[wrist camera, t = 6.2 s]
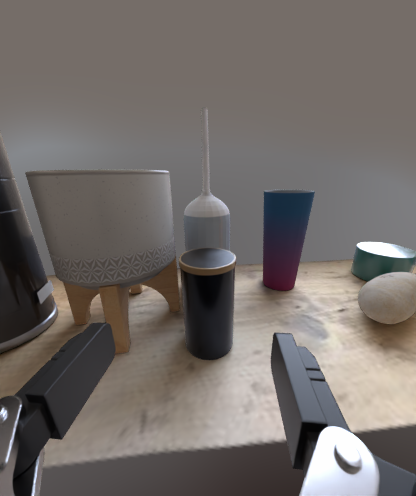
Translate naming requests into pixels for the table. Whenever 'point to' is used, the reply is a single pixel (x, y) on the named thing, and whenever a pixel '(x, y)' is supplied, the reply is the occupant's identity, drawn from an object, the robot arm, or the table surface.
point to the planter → (108, 238)
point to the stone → (389, 297)
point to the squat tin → (381, 260)
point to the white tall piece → (206, 209)
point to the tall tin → (208, 301)
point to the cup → (284, 235)
